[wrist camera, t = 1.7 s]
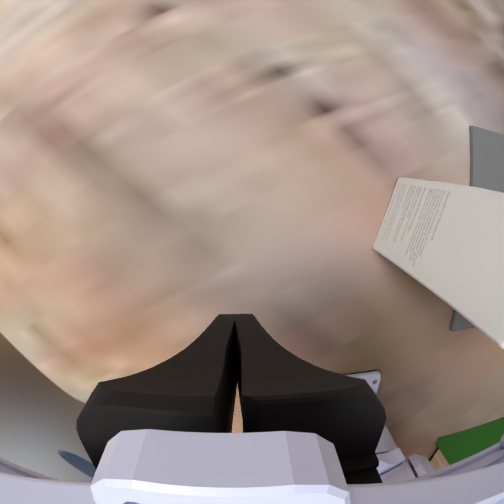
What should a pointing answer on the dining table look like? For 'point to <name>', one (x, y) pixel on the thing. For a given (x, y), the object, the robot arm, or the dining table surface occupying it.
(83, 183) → the dining table surface
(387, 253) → the skincare box
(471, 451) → the hardback book
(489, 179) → the mat
